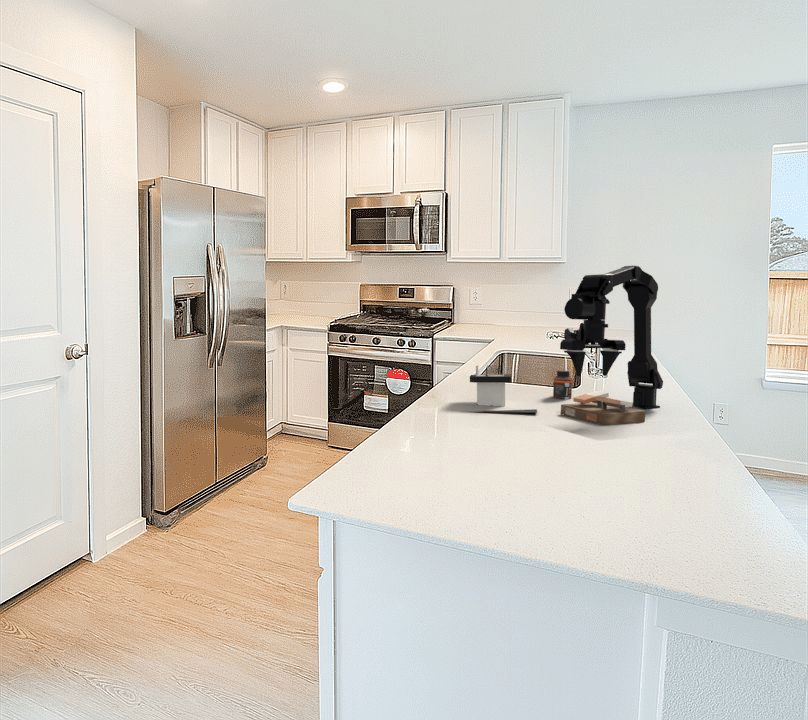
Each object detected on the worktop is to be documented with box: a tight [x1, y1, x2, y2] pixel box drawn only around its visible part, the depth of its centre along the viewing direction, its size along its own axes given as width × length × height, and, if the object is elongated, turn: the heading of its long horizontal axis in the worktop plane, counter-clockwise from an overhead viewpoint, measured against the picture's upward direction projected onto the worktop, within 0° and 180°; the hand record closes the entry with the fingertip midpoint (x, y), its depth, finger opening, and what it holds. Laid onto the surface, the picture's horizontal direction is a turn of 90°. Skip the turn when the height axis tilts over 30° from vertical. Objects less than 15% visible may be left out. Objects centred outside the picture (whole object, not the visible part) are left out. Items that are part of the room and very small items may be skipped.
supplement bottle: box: [552, 369, 573, 400], centre depth 196 cm, size 6×6×11 cm
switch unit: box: [560, 400, 646, 426], centre depth 171 cm, size 15×18×5 cm
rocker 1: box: [572, 390, 610, 404], centre depth 175 cm, size 9×6×2 cm, turn 114°
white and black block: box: [469, 364, 538, 413], centre depth 188 cm, size 28×26×13 cm
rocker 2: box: [596, 396, 633, 408], centre depth 167 cm, size 9×6×2 cm, turn 114°
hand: (591, 375), depth 164 cm, fingers open, 9 cm apart
